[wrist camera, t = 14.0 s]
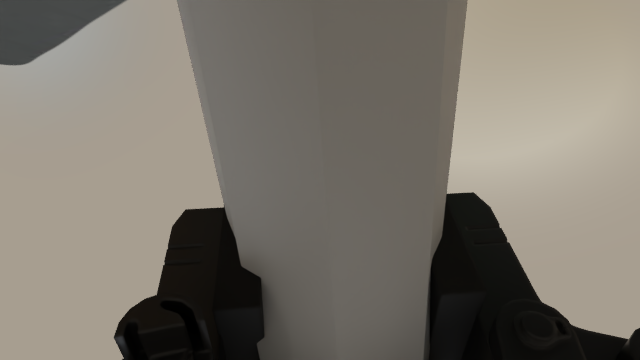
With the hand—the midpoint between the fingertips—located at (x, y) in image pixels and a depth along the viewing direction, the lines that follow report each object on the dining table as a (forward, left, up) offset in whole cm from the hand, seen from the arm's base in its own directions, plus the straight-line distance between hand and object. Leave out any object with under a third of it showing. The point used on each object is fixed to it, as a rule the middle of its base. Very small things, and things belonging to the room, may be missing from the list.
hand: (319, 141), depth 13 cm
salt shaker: (0, +4, -5) cm, 6 cm away
